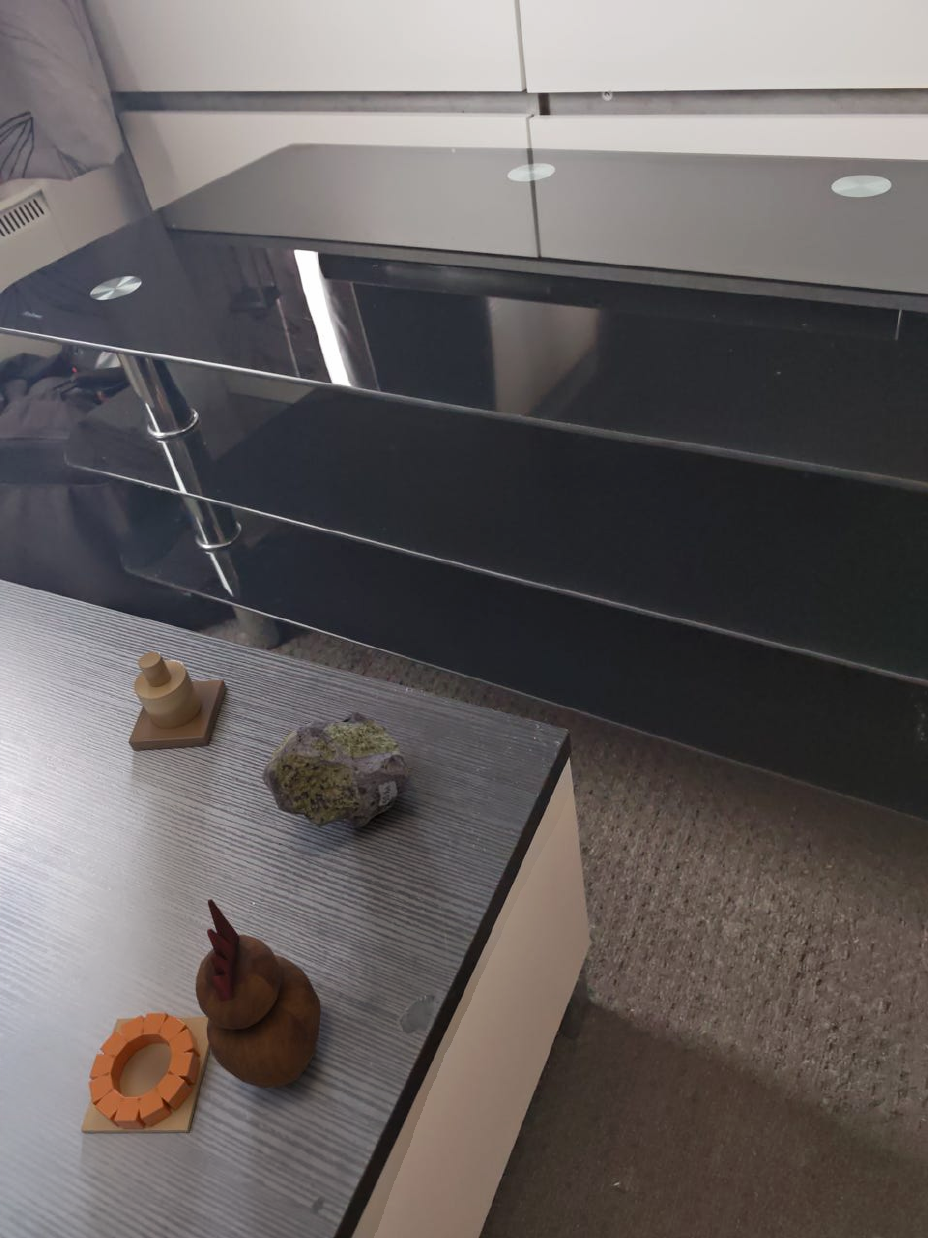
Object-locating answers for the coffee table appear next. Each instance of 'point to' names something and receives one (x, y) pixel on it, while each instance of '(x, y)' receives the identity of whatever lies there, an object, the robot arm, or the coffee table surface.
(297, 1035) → the wooden figurine
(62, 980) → the coffee table surface
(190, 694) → the post
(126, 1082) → the coaster
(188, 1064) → the ring
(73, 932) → the coffee table surface
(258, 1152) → the coffee table surface
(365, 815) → the rock
